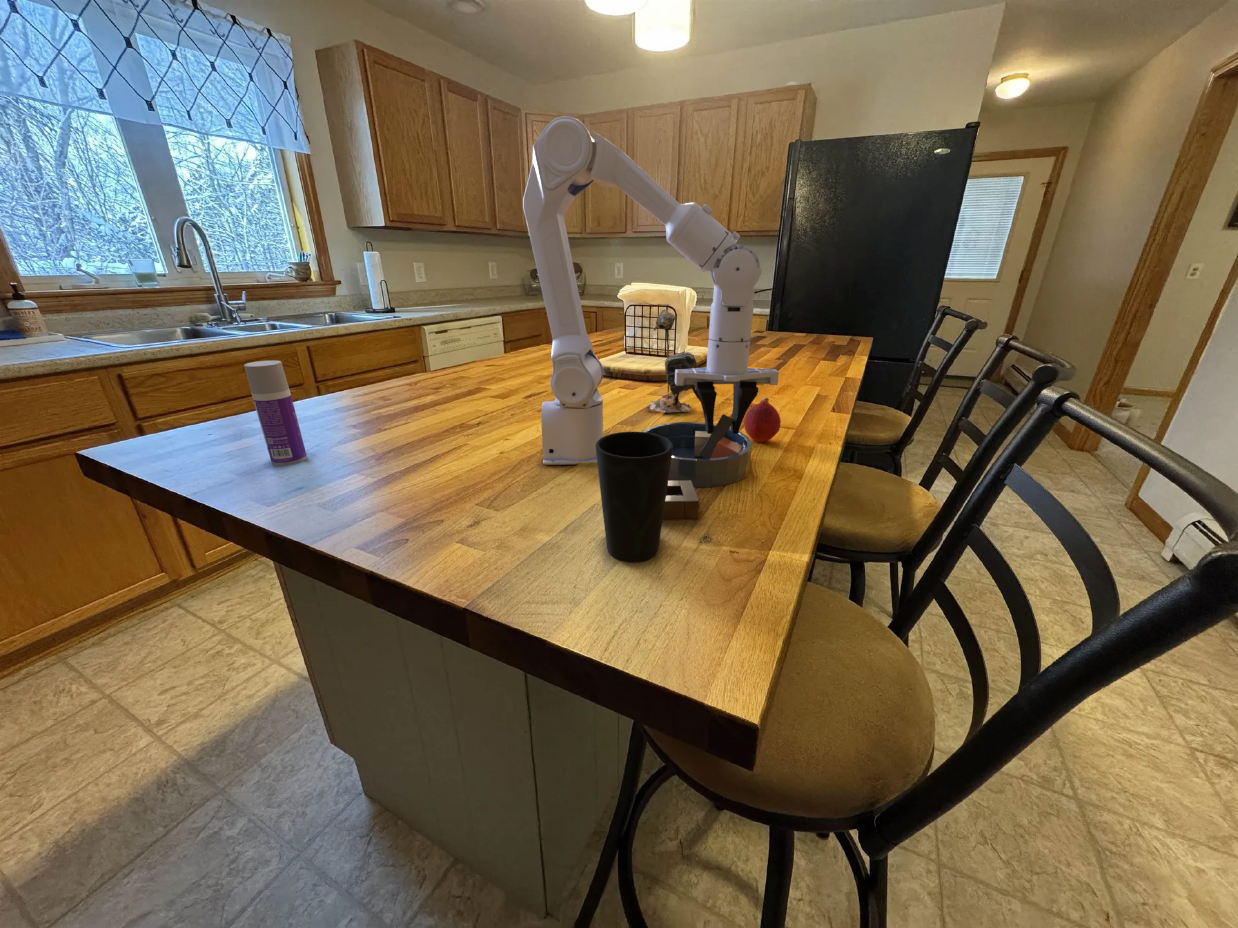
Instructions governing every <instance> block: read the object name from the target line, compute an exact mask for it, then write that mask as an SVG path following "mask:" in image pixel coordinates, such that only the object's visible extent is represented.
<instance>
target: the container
mask: <svg viewBox="0 0 1238 928" xmlns="http://www.w3.org/2000/svg"><path fill="white" fill-rule="evenodd" d="M244 369H245V374H246V378H247V381H248V386H249V389H250V393H251V397H252V401H253V405H254V408H255V411H256V414H257V418H258V421H259V424H260V428H261V432H262V435H263V438H264V443H265V446H266V448H267V452H268V455H269V458H270V462H271V465H273V466H276V467H286V466H292V465H297V464H299V463H303V462H304V461H306V460H307V459H308V454H307V451H306V447H305V443H304V440H303V435H302V432H301V428H300V425H299V424H300V423H299V420H298V415H297V412H296V409H295V405H294V401H293V397H292V394H291V390H290V386H289V383H288V380H287V376H286V373H285V369H284V366H283V363H282V361H281V360H272V359H271V360H259V361H252V362H248V363H244Z"/></svg>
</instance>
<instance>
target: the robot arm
mask: <svg viewBox="0 0 1238 928" xmlns="http://www.w3.org/2000/svg"><path fill="white" fill-rule="evenodd" d="M592 134H593V136H594V137H592V136H591V134H590V131H589V130H588V128H587V127H586V125H585V124H584V123H583V122H582V121H581V120H579V119H578V118H576V117H573V116H570V115H561V116H557V117H556V118H554V119H551V121H549V123H548V124H547V125H545V127H544V129H543V130H542V131H541V133H540V135H538V138H537V139H536V140H535V142H534V143H533V145H532V162H531V166H530V170H529V174H528V179H527V183H526V186H525V191H524V193H523V194H524V195H523V199H522V205H523V206H522V208H523V213H524V217H525V222H526V226H527V230H528V235H529V240H530V244H531V248H532V253H533V258H534V261H535V266H536V271H537V275H538V280H539V284H540V288H541V293H542V298H543V302H544V306H545V312H546V316H547V320H548V323H549V324H548V325H549V328H550V329H549V330H550V334H551V338H552V345H551V346H552V347H551V356H550V357H551V364H552V374H551V379H550V389H551V392H552V394H553V396H554V400H550V401H543V402H542V404H541V412H540V418H541V419H540V421H541V422H540V423H541V425H540V426H541V446H542V455H543V460H542V464H543V465H545V466H546V465H547V466H549V465H550V466H551V465H553V466H554V465H557V466H558V465H559V466H560V465H564V466H565V465H578V464H579V463H597V456H596V448H595V445H596V442H597V441H598V440H599V439H600V438H602V437H604V398H603V396H602V395H601V393H600V391H599V389H598V387H599V386H600V384H601V383H602V381H603V378H604V366H603V364H602V361H601V360H600V359H599V358H598V357H597V355H596V353H595V351H594V346H593V343H592V341H591V339H590V336H589V335H588V333H587V327H586V324H585V323H586V322H585V318H584V313H583V307H582V302H581V297H580V293H579V287H578V284H577V276H576V273H575V266H574V262H573V257H572V252H571V247H570V241H569V236H568V231H567V227H566V223H565V222H566V221H565V214H566V212H567V211H568V210H569V208H570V207H571V206H572V203H573V202H574V200H576V198H577V196H578V195H580V194H581V193H582V192H583V191H585V190H586V189H588V188H589V187H590V186H591V185H593V184H594V183H596V184H597V185H598V186H599V187H604V188H605V187H606V188H616V189H619V190H620V191H621V192H623V193H624V194H625V195H627V196H628V197H629V198H630V199H631V200H633V201H634V202H635V203H637V204H638V205H639V206H640V207H641V208H643V209H644V210H645V211H646V212H648V213H649V214H650V215H651V216H653V217H654V218H655V219H656V220H658V221H659V222H660V223H662V224H663V225H664V228H665V239H666V242H667V243H668V244H669V245H670V246H671V247H672V248H674V249H675V250H677V252H678V253H680V255H682V256H683V257H684V258H685V259H687V260H688V261H689V262H690V263H691V264H693V265H694V267H696V268H697V269H699V270H700V271H701V272H703V273H705V272H710V277H711V280H712V282H713V283H714V285H713V298H712V303H711V304H710V314H709V327H708V328H709V329H708V342H707V343H708V344H707V356H706V367H697V368H694V369H676V370H675V384H676V385H677V386H682V385H684V384H694V386H695V389H696V391H697V393H698V396H699V399H700V401H699V402H700V404H701V408H702V412H703V417H704V423H705V429H706V431H707V433H708V434H712V432H713V424H714V415H715V405H716V400H717V399H716V398H717V395H718V392H717V391H716V389H715V388H716V386H715V385H732V391H733V394H732V395H733V396H732V398H733V399H732V411H731V412H732V414H731V418H732V419H733V420H734V421H733V423H732V425H731V426H730V428H731V430H732V432H733V433H734V434H738V433H739V432H740V429H741V426H742V422H743V421H744V419H745V417H746V414H747V413H748V411H749V408H750V406H751V405H752V403H753V402H754V400H755V399H756V397H757V396H758V394H759V387H758V386H757V385H769V386H778V383H779V376H780V371H778V370H777V369H775V368H757V367H749V357H750V347H751V337H752V326H753V317H754V309H755V305H754V298H755V286H756V285H757V283H758V282H759V280H760V277H761V275H762V268H761V261H759V256H758V255H757V253H756V252H755V251H754V250H753V248H751V247H750V246H747V245H743V244H739V243H738V241H739V240H740V238H741V235H740V234H738V232H736V231H733V232H732V233H731V232H730V231H729V230H728V229H727V228H725V226H723V225H722V224H721V223H720V222H719V221H718V220H717V219H716V218H714V217H713V216H712V215H711V214H712V213H713V209H712V208H711V207H710V206H709V205H707V204H706V203H705V204H703V206H700V204H698V202H694V201H693V202H687V203H679V202H678V201H677V200H676V199H675V198H674V197H673V196H672V195H671V194H670V193H669V192H668V191H667V190H665V189H664V188H663V187H662V186H661V185H660V184H659V183H658V182H657V181H656V180H654V179H653V177H651V176H650V175H649V174H648V173H647V172H646V171H645V170H644V169H643V168H642V167H641V166H639V165H638V164H637V162H635V161H634V160H633V159H632V157H630V156H629V155H628V154H626V152H625V151H624V150H622V149H620V148H619V147H618V146H617V145H615V144H613V142H611V141H609V140H608V139H607V138H605V136H602V135H601V134H599V133H597V132H595V131H594V130H592ZM699 399H698V400H699Z"/></svg>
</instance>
